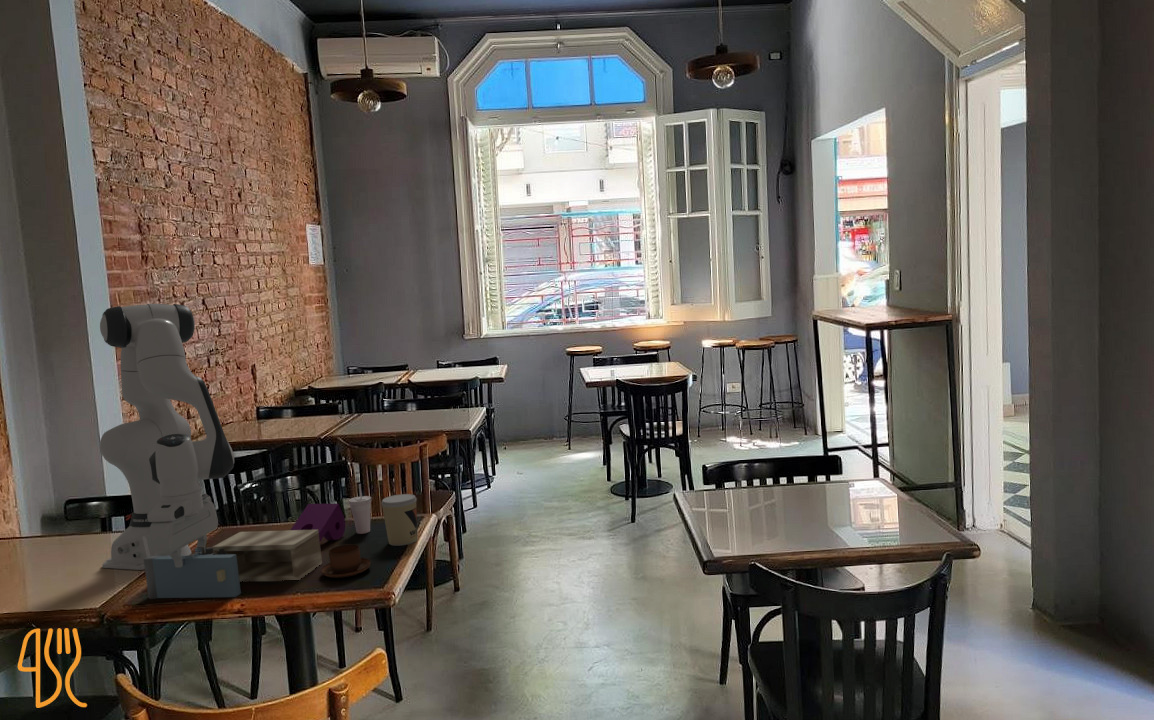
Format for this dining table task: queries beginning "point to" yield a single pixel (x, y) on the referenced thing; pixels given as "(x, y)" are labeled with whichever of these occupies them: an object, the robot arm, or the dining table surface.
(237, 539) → the cabinet
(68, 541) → the dining table surface
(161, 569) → the door
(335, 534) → the mounting bracket
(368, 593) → the dining table surface
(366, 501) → the smoothie
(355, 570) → the cup and saucer
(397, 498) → the coffee cup
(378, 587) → the dining table surface
